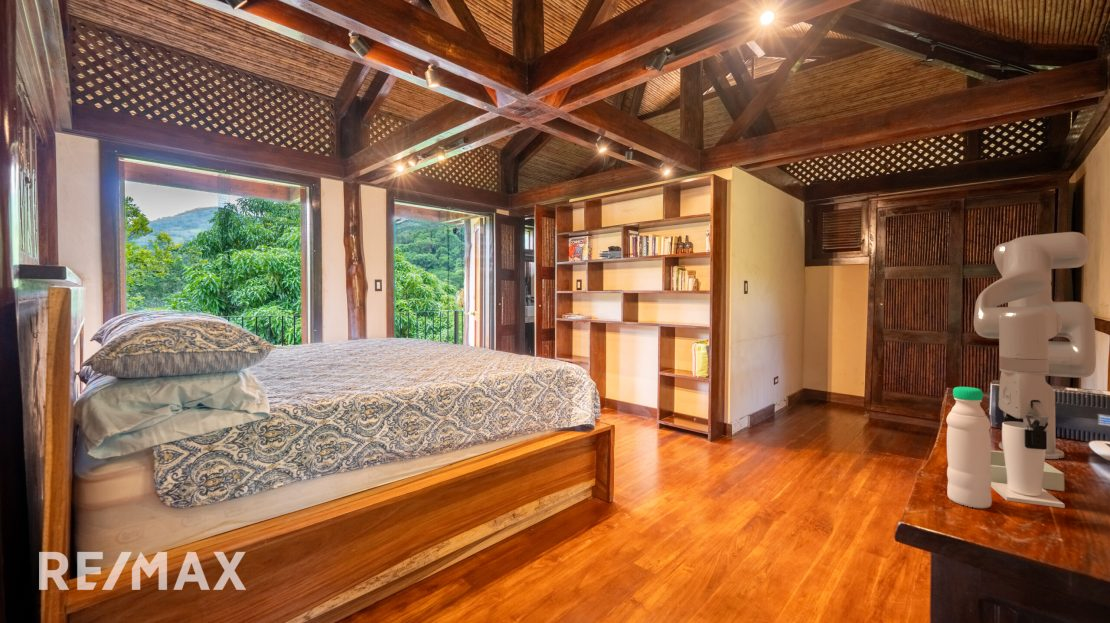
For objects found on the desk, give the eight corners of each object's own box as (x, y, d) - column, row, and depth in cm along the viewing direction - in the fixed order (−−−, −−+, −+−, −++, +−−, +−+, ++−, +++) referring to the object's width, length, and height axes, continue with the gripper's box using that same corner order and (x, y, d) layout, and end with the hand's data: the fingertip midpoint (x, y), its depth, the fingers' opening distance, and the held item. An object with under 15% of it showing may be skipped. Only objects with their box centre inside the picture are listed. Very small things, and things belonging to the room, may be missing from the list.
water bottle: (980, 512, 92) (979, 392, 92) (940, 499, 98) (938, 387, 98) (998, 505, 95) (997, 389, 94) (957, 492, 101) (956, 383, 101)
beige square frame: (960, 462, 119) (960, 447, 119) (1032, 469, 113) (1032, 454, 113) (982, 481, 107) (982, 465, 107) (1064, 491, 101) (1064, 473, 101)
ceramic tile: (988, 485, 105) (988, 481, 105) (1041, 491, 101) (1041, 487, 101) (1006, 500, 97) (1006, 497, 97) (1064, 508, 93) (1064, 504, 93)
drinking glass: (1056, 499, 95) (1055, 429, 95) (1019, 497, 96) (1018, 429, 96) (1029, 486, 102) (1028, 421, 101) (994, 485, 103) (993, 420, 103)
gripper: (984, 359, 108) (985, 428, 108) (1019, 371, 92) (1020, 452, 93) (1026, 359, 105) (1027, 431, 105) (1070, 372, 89) (1070, 456, 90)
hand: (1024, 441), depth 99 cm, fingers open, 9 cm apart
